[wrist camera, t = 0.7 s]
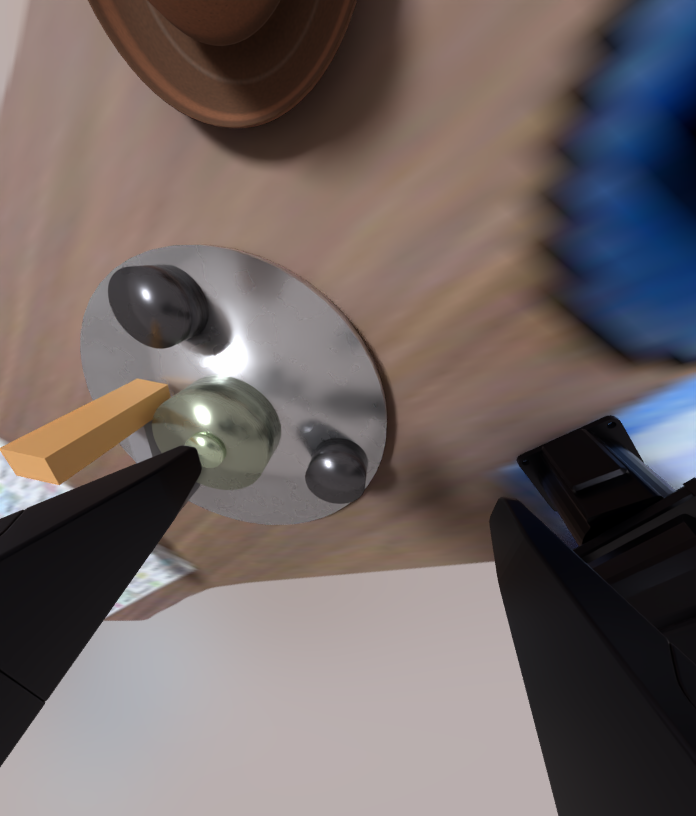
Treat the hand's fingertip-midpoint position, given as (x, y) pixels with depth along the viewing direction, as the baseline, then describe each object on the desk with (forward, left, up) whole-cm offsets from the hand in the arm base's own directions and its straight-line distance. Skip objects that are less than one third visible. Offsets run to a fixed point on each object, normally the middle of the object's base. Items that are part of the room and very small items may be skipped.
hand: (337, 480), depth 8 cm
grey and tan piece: (+5, +18, -11) cm, 21 cm away
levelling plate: (+3, +12, -12) cm, 17 cm away
